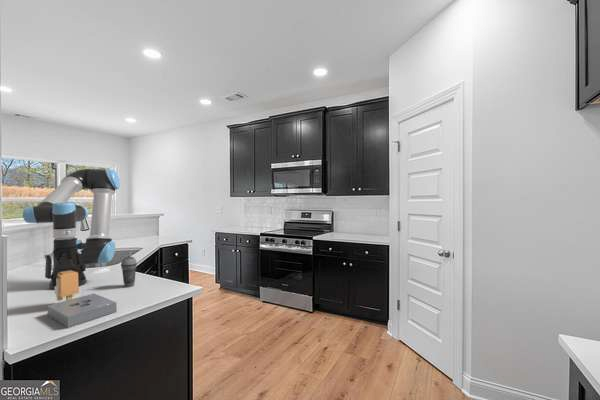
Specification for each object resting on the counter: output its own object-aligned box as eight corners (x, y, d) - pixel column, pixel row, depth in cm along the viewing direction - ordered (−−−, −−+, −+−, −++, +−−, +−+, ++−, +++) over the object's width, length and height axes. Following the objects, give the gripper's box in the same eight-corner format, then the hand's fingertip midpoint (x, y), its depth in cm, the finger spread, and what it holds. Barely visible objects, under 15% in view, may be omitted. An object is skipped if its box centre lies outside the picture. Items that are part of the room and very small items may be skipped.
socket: (47, 315, 110) (47, 305, 110) (94, 302, 123) (93, 293, 123) (68, 328, 99) (67, 317, 99) (116, 311, 113) (116, 302, 113)
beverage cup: (125, 283, 149) (125, 247, 149) (139, 283, 150) (139, 246, 149) (118, 288, 142) (117, 249, 141) (133, 287, 142) (132, 249, 142)
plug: (55, 299, 120) (54, 272, 119) (72, 295, 125) (71, 268, 124) (61, 303, 116) (60, 274, 115) (78, 298, 121) (78, 271, 120)
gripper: (38, 242, 109) (41, 300, 110) (94, 235, 125) (96, 285, 126) (32, 240, 113) (34, 296, 114) (87, 234, 129) (88, 282, 130)
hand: (66, 290), depth 120 cm, fingers closed on plug, 6 cm apart
